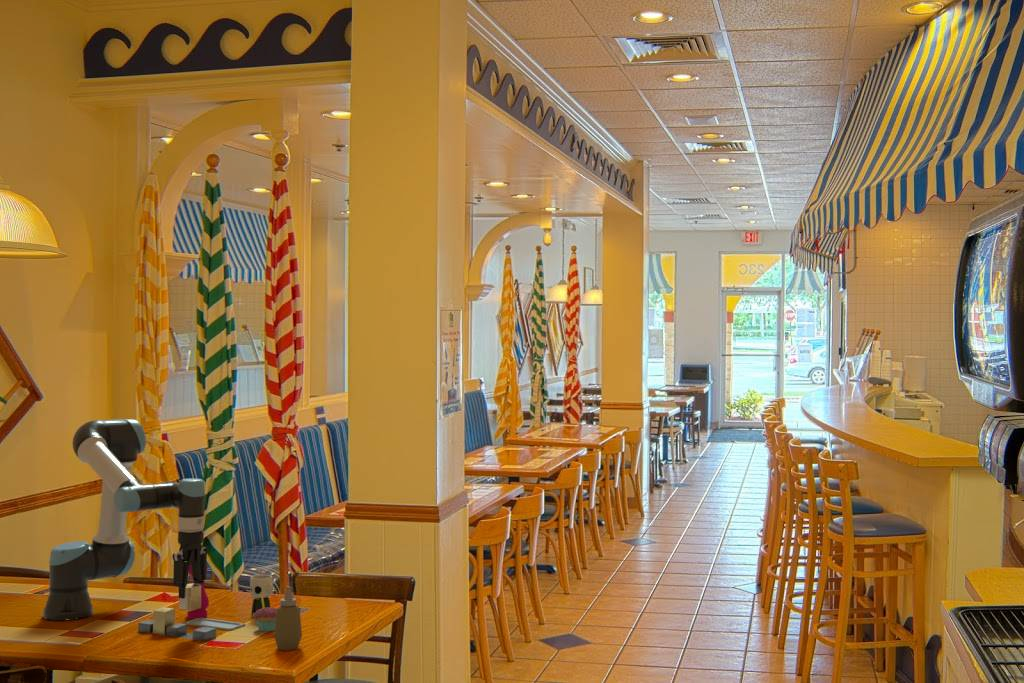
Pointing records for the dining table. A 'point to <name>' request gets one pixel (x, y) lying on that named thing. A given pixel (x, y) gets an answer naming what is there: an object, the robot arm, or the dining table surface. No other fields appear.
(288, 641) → the squeeze bottle
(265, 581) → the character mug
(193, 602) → the beige rectangular block
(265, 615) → the cupcake
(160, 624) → the cream upright block
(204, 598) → the pepper mill
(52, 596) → the robot arm
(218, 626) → the tray
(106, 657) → the dining table surface
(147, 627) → the gray notched bar
